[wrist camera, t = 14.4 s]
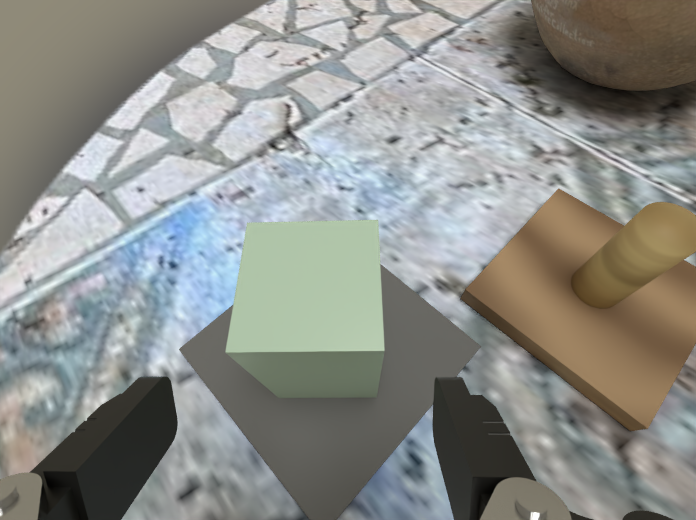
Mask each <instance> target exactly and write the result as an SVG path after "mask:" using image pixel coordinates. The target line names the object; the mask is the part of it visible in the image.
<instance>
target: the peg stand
mask: <svg viewBox="0 0 696 520" xmlns="http://www.w3.org/2000/svg"><path fill="white" fill-rule="evenodd" d="M695 252H696V215H694V214H693V213H692V212H690V211H689V210H687V209H685V208H683V207H681V206H678V205H675V204H672V203H666V202H656V203H652V204H649V205H647V206H645V207H644V208H643V209H642V210H641V211H640V212H639V213H638V214H637V215H636V216H634V217H633V218H632V219H631V220H630V221H629V222H628V223H627V224H626V225H625V226H623V225H622V224H620V223H618V222H616V221H615V220H613V219H611V218H609V217H608V216H606V215H604V214H602V213H601V212H599V211H597V210H595V209H594V208H592V207H590V206H588V205H587V204H585V203H583V202H581V201H580V200H578V199H576V198H574V197H573V196H571V195H569V194H567V193H566V192H564V191H562V190H560V189H558V190H557V191H556V192H555V193H554V194H553V195H552V196H551V197H550V198H549V200H548V201H547V202H546V203H545V204H544V205H543V206H542V207H541V208H540V209H539V210H538V211H537V212H536V214H535V215H534V216H533V217H532V218H531V219H530V220H529V221H528V222H527V223H526V224H525V225H524V227H523V228H522V229H521V230H520V231H519V232H518V233H517V234H516V235H515V236H514V237H513V238H512V240H511V241H510V242H509V243H508V244H507V245H506V246H505V247H504V248H503V249H502V250H501V251H500V253H499V254H498V255H497V256H496V257H495V258H494V259H493V260H492V261H491V262H490V263H489V264H488V266H487V267H486V268H485V269H484V270H483V271H482V272H481V273H480V274H479V275H478V276H477V277H476V279H475V280H474V281H473V282H472V283H471V284H470V285H469V286H468V287H467V288H466V289H465V291H464V293H463V295H462V296H461V298H460V299H461V300H463V301H464V302H465V303H467V304H468V305H469V306H470V307H472V308H473V309H474V310H476V311H477V312H478V313H479V314H481V315H482V316H483V317H485V318H486V319H487V320H488V321H490V322H491V323H492V324H494V325H495V326H496V327H497V328H499V329H500V330H501V331H502V332H504V333H505V334H506V335H508V336H509V337H510V338H511V339H513V340H514V341H515V342H517V343H518V344H519V345H520V346H522V347H523V348H524V349H526V350H527V351H528V352H529V353H531V354H532V355H533V356H535V357H536V358H537V359H538V360H540V361H541V362H542V363H544V364H545V365H546V366H547V367H549V368H550V369H551V370H553V371H554V372H555V373H556V374H558V375H559V376H560V377H562V378H563V379H564V380H565V381H567V382H568V383H569V384H570V385H572V386H573V387H574V388H576V389H577V390H578V391H579V392H581V393H582V394H583V395H585V396H586V397H587V398H588V399H590V400H591V401H592V402H594V403H595V404H596V405H597V406H599V407H600V408H601V409H603V410H604V411H605V412H606V413H608V414H609V415H610V416H612V417H613V418H614V419H615V420H617V421H618V422H619V423H621V424H622V425H623V426H624V427H626V428H627V429H628V430H630V431H635V430H642V429H648V427H649V425H650V424H651V422H652V420H653V418H654V417H655V415H656V413H657V411H658V410H659V408H660V406H661V404H662V402H663V401H664V399H665V397H666V395H667V394H668V392H669V390H670V388H671V386H672V385H673V383H674V381H675V379H676V378H677V376H678V374H679V372H680V371H681V369H682V367H683V365H684V363H685V362H686V360H687V358H688V356H689V355H690V353H691V351H692V349H693V348H694V346H695V344H696V267H695V266H693V265H692V264H690V263H688V262H686V261H685V260H684V259H686V258H687V257H689V256H690V255H692V254H693V253H695Z"/></svg>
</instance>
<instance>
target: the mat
mask: <svg viewBox="0 0 696 520" xmlns="http://www.w3.org/2000/svg"><path fill="white" fill-rule="evenodd" d="M380 269H381V289H382V309H383V330H384V350H385V351H384V357H383V363H382V369H381V375H380V381H379V387H378V392H377V397H361V398H278V397H277V396H276V395H275V394H273V393H272V392H271V391H270V390H269V389H268V388H266V387H265V386H264V385H263V384H262V383H261V382H259V381H258V380H257V379H256V378H255V377H254V376H252V375H251V374H250V373H249V372H248V371H246V370H245V369H244V368H243V367H242V366H241V365H239V364H238V363H237V362H236V361H235V360H234V359H232V358H231V357H230V356H229V355H228V354H227V353H225V352H226V346H227V340H228V334H229V328H230V322H231V316H232V310H233V305H232V306H231V307H230V308H229V309H227V310H226V311H225V312H224V313H223V314H221V315H220V316H219V317H218V318H216V319H215V320H214V321H213V322H212V323H210V324H209V325H208V326H207V327H205V328H204V329H203V330H202V331H201V332H199V333H198V334H197V335H196V336H195V337H193V338H192V339H191V340H190V341H188V342H187V343H186V344H185V345H184V346H182V347H181V348H180V349H179V350H180V351H181V353H182V354H183V355H184V357H185V358H186V359H187V361H188V362H189V363H190V364H191V366H192V367H193V368H194V370H195V371H196V372H197V374H198V375H199V376H200V377H201V379H202V380H203V381H204V383H205V384H206V385H207V387H208V388H209V389H210V390H211V392H212V393H213V394H214V396H215V397H216V398H217V400H218V401H219V402H220V403H221V405H222V406H223V407H224V409H225V410H226V411H227V413H228V414H229V415H230V417H231V418H232V419H233V420H234V422H235V423H236V424H237V426H238V427H239V428H240V430H241V431H242V432H243V433H244V435H245V436H246V437H247V439H248V440H249V441H250V443H251V444H252V445H253V446H254V448H255V449H256V450H257V452H258V453H259V454H260V456H261V457H262V458H263V459H264V461H265V462H266V463H267V465H268V466H269V467H270V469H271V470H272V471H273V472H274V474H275V475H276V476H277V478H278V479H279V480H280V482H281V483H282V484H283V485H284V487H285V488H286V489H287V491H288V492H289V493H290V495H291V496H292V497H293V498H294V500H295V501H296V502H297V504H298V505H299V506H300V508H301V509H302V510H303V511H304V513H305V514H306V515H307V517H308V518H309V519H310V520H336V519H337V518H338V517H339V516H340V514H341V513H342V512H343V511H344V510H345V508H346V507H347V506H348V505H349V504H350V503H351V501H352V500H353V499H354V498H355V497H356V495H357V494H358V493H359V492H360V491H361V489H362V488H363V487H364V486H365V485H366V483H367V482H368V481H369V480H370V479H371V477H372V476H373V475H374V474H375V473H376V471H377V470H378V469H379V468H380V467H381V465H382V464H383V463H384V462H385V461H386V459H387V458H388V457H389V456H390V455H391V453H392V452H393V451H394V450H395V449H396V448H397V446H398V445H399V444H400V443H401V442H402V440H403V439H404V438H405V437H406V436H407V434H408V433H409V432H410V431H411V430H412V428H413V427H414V426H415V425H416V424H417V422H418V421H419V420H420V419H421V418H422V416H423V415H424V414H425V413H426V412H427V410H428V409H429V408H430V407H431V406H432V404H433V401H434V382H435V378H436V377H456V376H457V375H458V373H459V372H460V371H461V370H462V369H463V367H464V366H465V365H466V364H467V363H468V361H469V360H470V359H471V358H472V357H473V355H474V354H475V353H476V352H477V351H478V349H479V348H480V347H481V346H480V345H479V344H478V343H476V342H475V341H474V340H473V339H471V338H470V337H469V336H468V335H467V334H465V333H464V332H463V331H462V330H460V329H459V328H458V327H457V326H456V325H454V324H453V323H452V322H451V321H449V320H448V319H447V318H446V317H445V316H443V315H442V314H441V313H440V312H438V311H437V310H436V309H435V308H434V307H432V306H431V305H430V304H429V303H427V302H426V301H425V300H424V299H423V298H421V297H420V296H419V295H418V294H416V293H415V292H414V291H413V290H412V289H410V288H409V287H408V286H407V285H405V284H404V283H403V282H402V281H401V280H399V279H398V278H397V277H396V276H394V275H393V274H392V273H391V272H390V271H388V270H387V269H386V268H385V267H383V266H382V265H381V264H380Z"/></svg>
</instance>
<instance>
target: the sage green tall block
mask: <svg viewBox="0 0 696 520" xmlns="http://www.w3.org/2000/svg"><path fill="white" fill-rule="evenodd" d="M384 351H385V350H384V330H383V309H382V289H381V269H380V249H379V229H378V220H352V221H307V222H263V223H247V227H246V233H245V239H244V245H243V251H242V257H241V263H240V268H239V274H238V280H237V286H236V292H235V298H234V304H233V310H232V316H231V322H230V328H229V334H228V340H227V346H226V352H225V353H227V354H228V355H229V356H230V357H231V358H232V359H234V360H235V361H236V362H237V363H238V364H239V365H241V366H242V367H243V368H244V369H245V370H246V371H248V372H249V373H250V374H251V375H252V376H254V377H255V378H256V379H257V380H258V381H259V382H261V383H262V384H263V385H264V386H265V387H266V388H268V389H269V390H270V391H271V392H272V393H273V394H275V395H276V396H277V397H278V398H361V397H377V392H378V387H379V381H380V375H381V369H382V363H383V357H384Z"/></svg>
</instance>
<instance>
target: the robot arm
mask: <svg viewBox="0 0 696 520" xmlns="http://www.w3.org/2000/svg"><path fill="white" fill-rule="evenodd" d="M176 432H177V415H176V409H175V403H174V397H173V391H172V385H171V381H170V379H169V378H168V377H140V378H138V379H137V380H136V381H135V382H134V383H133V384H132V385H131V386H130V387H129V388H128V389H127V390H126V391H125V392H124V393H123V394H119V395H117V396H116V397H114V398H112V399H111V400H109V401H107V402H106V403H104V404H102V405H101V406H100V407H99V408H98V409H97V410H96V411H95V412H93V413H92V414H91V415H90V416H89V417H88V418H87V421H84V422H83V423H82V424H81V425H80V426H79V427H78V428H76V430H75V432H72V433H71V434H70V435H69V436H68V437H67V438H66V439H65V440H64V441H63V442H62V443H61V444H59V445H58V446H57V447H56V448H55V449H54V450H53V451H52V452H51V453H50V454H49V455H48V456H47V457H46V458H45V459H44V460H42V461H41V462H40V463H39V464H38V465H37V466H36V467H35V468H34V469H33V470H32V471H31V472H30V473H20V474H15V475H11V476H8V477H5V478H3V479H0V520H121V519H122V517H123V516H124V514H125V513H126V511H127V510H128V508H129V507H130V505H131V504H132V502H133V501H134V499H135V498H136V496H137V495H138V493H139V492H140V490H141V489H142V487H143V486H144V484H145V483H146V481H147V480H148V479H149V477H150V476H151V474H152V473H153V471H154V470H155V468H156V467H157V465H158V464H159V462H160V461H161V459H162V458H163V456H164V455H165V453H166V452H167V450H168V449H169V447H170V446H171V444H172V442H173V440H174V438H175V435H176ZM433 437H434V443H435V448H436V451H437V455H438V459H439V463H440V467H441V471H442V474H443V478H444V482H445V486H446V490H447V494H448V497H449V501H450V505H451V509H452V513H453V517H454V520H593V519H589V518H586V517H583V516H580V515H577V514H575V513H573V512H571V511H569V510H568V508H567V506H566V505H565V503H564V502H563V501H562V500H561V498H560V497H559V496H558V495H557V494H555V493H554V492H553V491H552V490H550V489H549V488H547V487H546V486H544V485H542V484H540V483H538V482H537V481H536V479H535V477H534V476H533V474H532V472H531V470H530V468H529V467H528V465H527V463H526V461H525V459H524V457H523V456H522V454H521V452H520V450H519V448H518V446H517V445H516V443H515V441H514V439H513V437H512V436H510V432H509V430H508V428H507V426H506V425H505V424H504V422H503V419H502V417H501V416H500V414H499V412H498V410H497V408H496V407H495V406H494V405H493V404H492V403H491V402H489V401H488V400H487V399H486V398H485V397H484V396H482V395H470V393H469V391H468V389H467V387H466V385H465V383H464V380H463V379H462V378H461V377H436V378H435V382H434V401H433ZM623 520H673V519H671V518H668V517H666V516H663V515H661V514H658V513H654V512H649V511H633V512H630V513H628V514H627V515H625V516H624V518H623Z"/></svg>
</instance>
